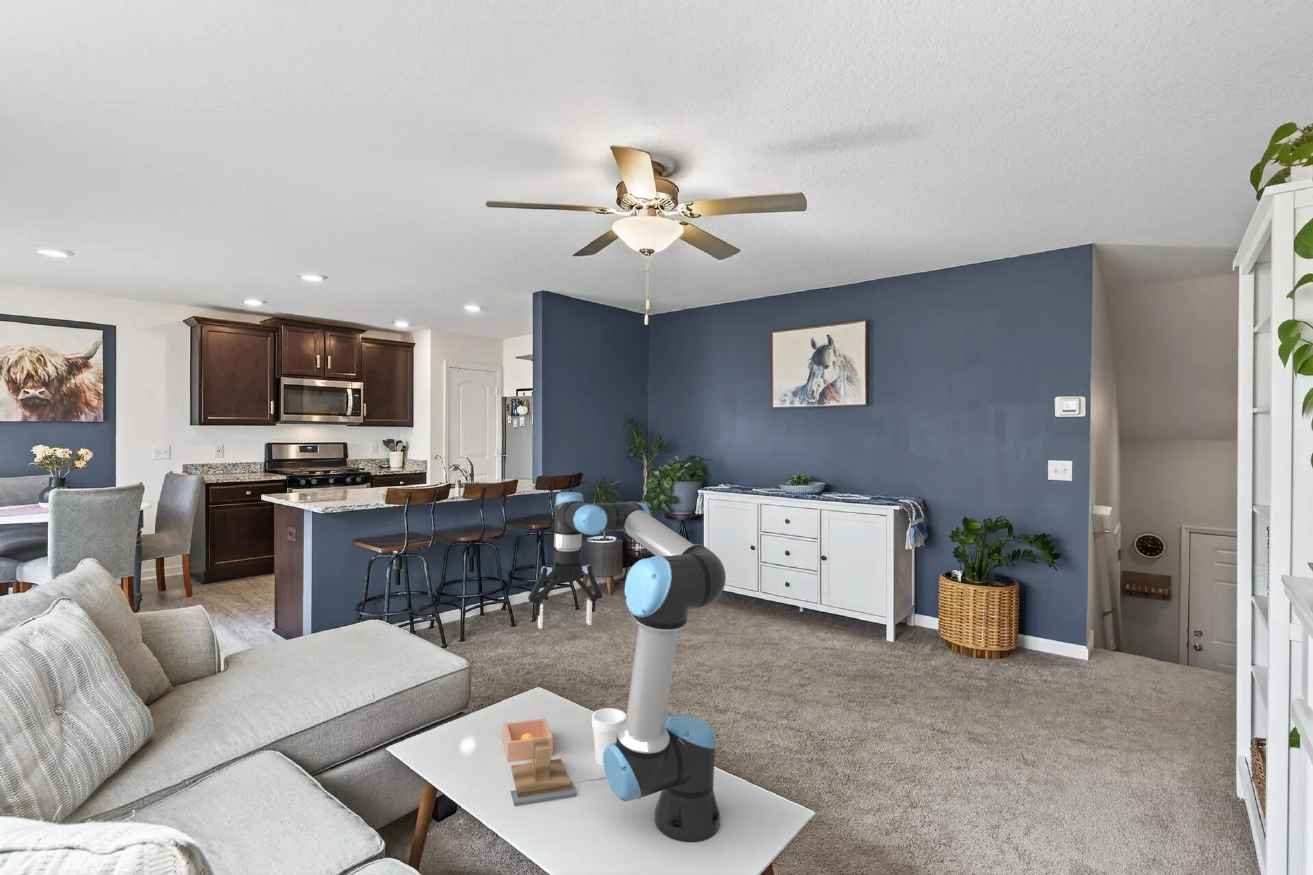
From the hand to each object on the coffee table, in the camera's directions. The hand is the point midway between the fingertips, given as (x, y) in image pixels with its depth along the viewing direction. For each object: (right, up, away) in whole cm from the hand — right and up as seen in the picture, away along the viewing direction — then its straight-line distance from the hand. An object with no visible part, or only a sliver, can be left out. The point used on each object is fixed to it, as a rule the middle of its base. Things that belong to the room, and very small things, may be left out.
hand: (564, 625), depth 174 cm
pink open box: (-11, -36, +2) cm, 38 cm away
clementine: (-11, -35, +2) cm, 37 cm away
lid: (-4, -35, -13) cm, 38 cm away
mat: (-4, -36, -13) cm, 39 cm away
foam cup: (+12, -37, -2) cm, 39 cm away
